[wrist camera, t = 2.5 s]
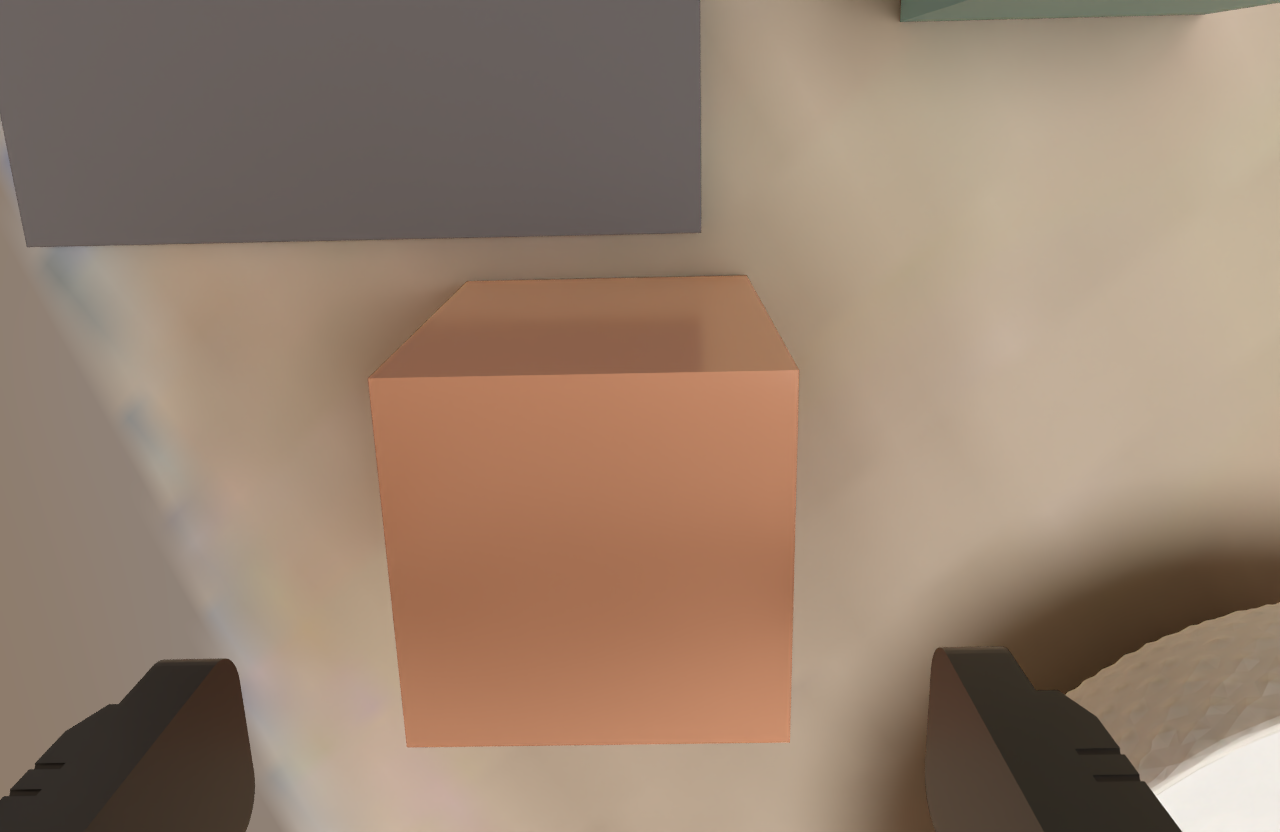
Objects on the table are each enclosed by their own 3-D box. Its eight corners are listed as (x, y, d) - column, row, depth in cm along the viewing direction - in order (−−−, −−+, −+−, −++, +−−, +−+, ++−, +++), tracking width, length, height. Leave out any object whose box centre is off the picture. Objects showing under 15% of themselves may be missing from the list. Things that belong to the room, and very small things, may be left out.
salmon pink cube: (467, 281, 22) (367, 378, 14) (747, 275, 22) (799, 370, 14) (486, 537, 24) (407, 747, 16) (744, 533, 23) (789, 742, 16)
